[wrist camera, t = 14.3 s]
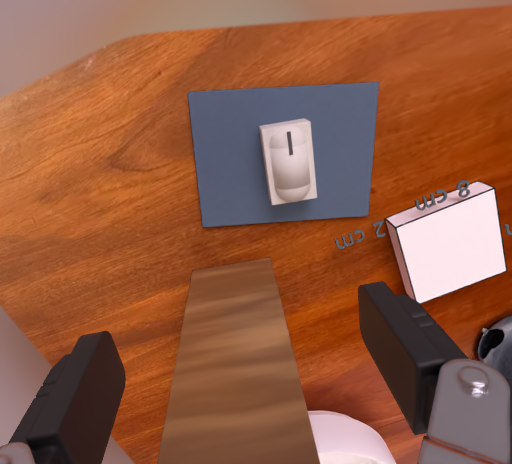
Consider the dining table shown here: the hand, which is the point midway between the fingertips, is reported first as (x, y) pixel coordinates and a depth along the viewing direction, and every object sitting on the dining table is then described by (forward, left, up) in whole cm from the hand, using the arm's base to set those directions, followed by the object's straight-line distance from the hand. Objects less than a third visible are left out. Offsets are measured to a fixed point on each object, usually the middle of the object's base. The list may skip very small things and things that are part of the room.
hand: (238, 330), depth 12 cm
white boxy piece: (+3, +4, -23) cm, 23 cm away
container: (+20, +9, -23) cm, 32 cm away
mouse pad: (+3, +4, -23) cm, 23 cm away
